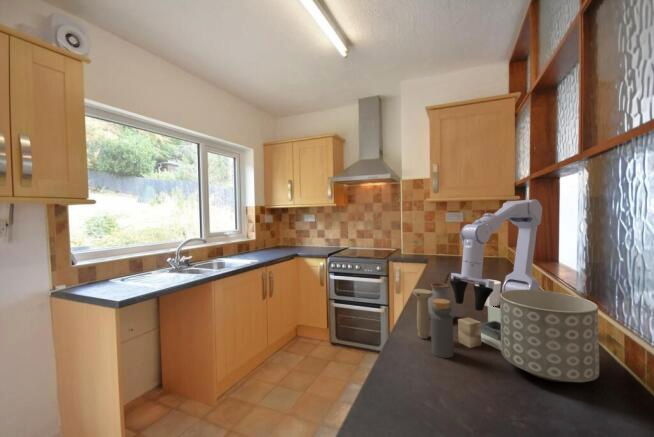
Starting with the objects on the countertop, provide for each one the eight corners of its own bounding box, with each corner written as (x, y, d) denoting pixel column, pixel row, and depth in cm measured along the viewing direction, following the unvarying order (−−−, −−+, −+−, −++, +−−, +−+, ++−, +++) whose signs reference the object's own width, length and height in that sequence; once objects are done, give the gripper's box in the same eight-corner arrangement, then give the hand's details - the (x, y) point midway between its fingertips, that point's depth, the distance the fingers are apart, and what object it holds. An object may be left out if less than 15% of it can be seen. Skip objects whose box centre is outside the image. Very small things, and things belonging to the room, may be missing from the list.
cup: (506, 307, 120) (506, 283, 120) (482, 307, 120) (482, 284, 120) (493, 300, 130) (492, 278, 130) (471, 300, 130) (470, 279, 130)
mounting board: (490, 325, 100) (489, 305, 100) (536, 344, 85) (536, 320, 85) (461, 331, 96) (460, 310, 96) (504, 352, 81) (503, 327, 81)
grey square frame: (498, 327, 96) (498, 319, 96) (520, 335, 89) (520, 327, 89) (477, 331, 93) (477, 323, 93) (498, 340, 86) (498, 332, 86)
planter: (608, 407, 57) (607, 317, 57) (498, 378, 68) (497, 303, 68) (591, 366, 73) (589, 295, 73) (503, 347, 84) (502, 286, 84)
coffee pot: (452, 326, 101) (451, 284, 101) (420, 320, 108) (419, 280, 108) (464, 309, 118) (463, 273, 118) (435, 305, 125) (435, 271, 125)
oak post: (469, 339, 90) (469, 317, 90) (481, 345, 86) (480, 322, 86) (458, 341, 88) (458, 319, 88) (469, 347, 84) (469, 324, 84)
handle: (428, 342, 88) (427, 294, 88) (410, 336, 93) (409, 290, 93) (436, 337, 92) (435, 291, 92) (418, 332, 96) (417, 288, 96)
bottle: (452, 350, 83) (451, 298, 83) (454, 359, 78) (453, 304, 78) (431, 347, 85) (430, 297, 85) (431, 356, 80) (430, 303, 79)
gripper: (445, 258, 94) (441, 300, 93) (482, 264, 80) (478, 313, 79) (462, 260, 96) (458, 301, 95) (500, 266, 82) (497, 313, 82)
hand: (468, 306), depth 87 cm, fingers open, 7 cm apart
